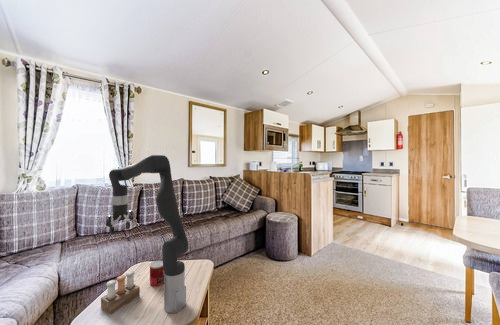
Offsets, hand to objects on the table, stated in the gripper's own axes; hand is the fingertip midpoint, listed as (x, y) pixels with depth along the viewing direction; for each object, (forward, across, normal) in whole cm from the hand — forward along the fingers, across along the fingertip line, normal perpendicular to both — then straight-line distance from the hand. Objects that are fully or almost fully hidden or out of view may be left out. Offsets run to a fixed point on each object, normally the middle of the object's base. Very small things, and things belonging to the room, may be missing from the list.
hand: (120, 230), depth 118 cm
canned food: (+29, +8, -21) cm, 37 cm away
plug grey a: (+25, -16, -18) cm, 35 cm away
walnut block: (+29, -11, -19) cm, 36 cm away
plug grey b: (+25, -7, -19) cm, 32 cm away
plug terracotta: (+25, -11, -19) cm, 33 cm away
